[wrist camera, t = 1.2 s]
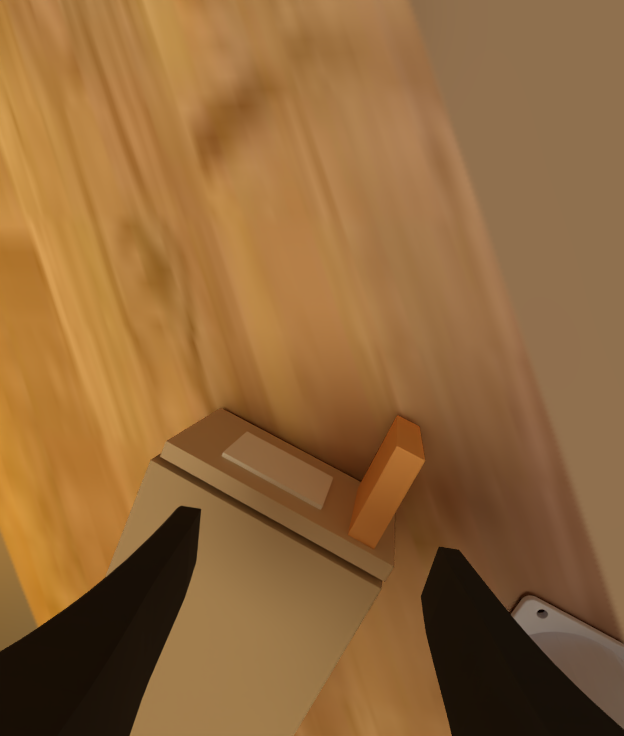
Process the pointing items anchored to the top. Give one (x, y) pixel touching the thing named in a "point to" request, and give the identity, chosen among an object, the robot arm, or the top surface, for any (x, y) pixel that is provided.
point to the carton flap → (306, 484)
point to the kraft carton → (243, 616)
